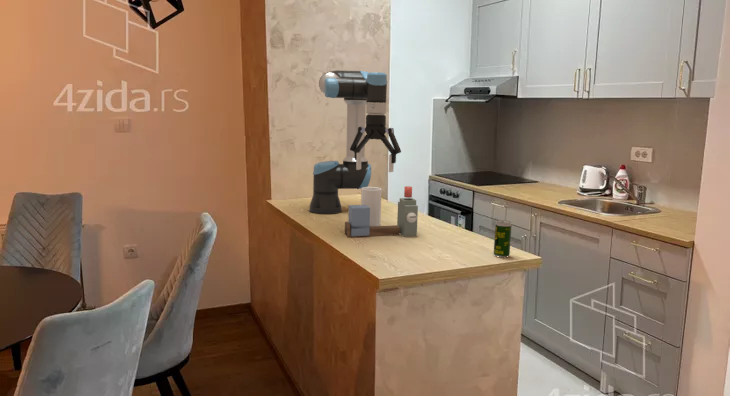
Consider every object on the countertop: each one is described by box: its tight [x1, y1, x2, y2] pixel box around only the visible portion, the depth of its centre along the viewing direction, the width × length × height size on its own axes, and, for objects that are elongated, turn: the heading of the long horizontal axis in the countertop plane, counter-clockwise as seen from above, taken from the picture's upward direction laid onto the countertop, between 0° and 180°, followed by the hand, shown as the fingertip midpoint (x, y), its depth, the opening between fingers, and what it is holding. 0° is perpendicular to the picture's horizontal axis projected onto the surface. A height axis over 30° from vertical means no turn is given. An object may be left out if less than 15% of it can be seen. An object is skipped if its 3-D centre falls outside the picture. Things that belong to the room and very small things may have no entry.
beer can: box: [493, 219, 512, 258], centre depth 190 cm, size 5×5×12 cm
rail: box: [344, 221, 401, 238], centre depth 217 cm, size 5×21×5 cm, turn 103°
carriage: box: [347, 204, 370, 237], centre depth 215 cm, size 6×7×11 cm
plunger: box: [403, 185, 413, 198], centre depth 218 cm, size 3×3×4 cm
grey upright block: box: [396, 197, 419, 238], centre depth 219 cm, size 11×5×14 cm, turn 13°
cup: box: [360, 186, 382, 226], centre depth 231 cm, size 8×8×16 cm
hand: (374, 170), depth 213 cm, fingers open, 13 cm apart
